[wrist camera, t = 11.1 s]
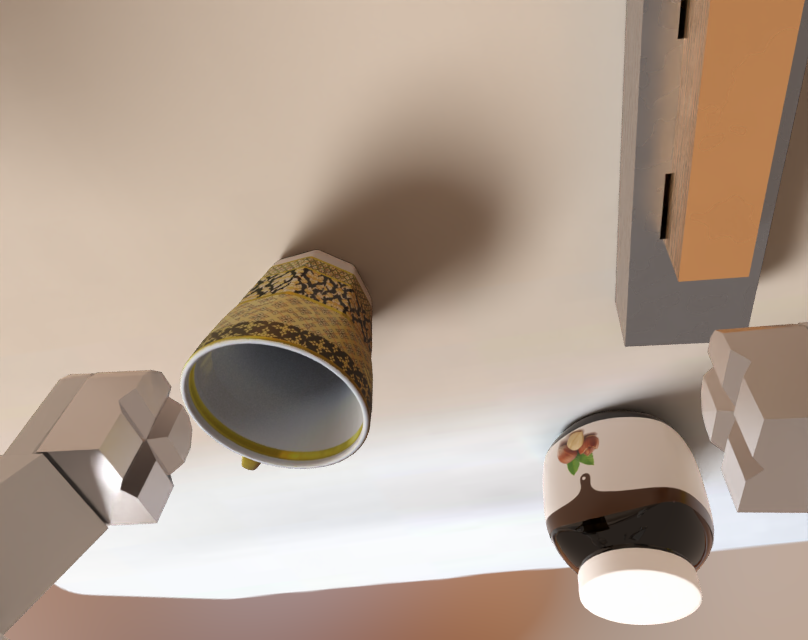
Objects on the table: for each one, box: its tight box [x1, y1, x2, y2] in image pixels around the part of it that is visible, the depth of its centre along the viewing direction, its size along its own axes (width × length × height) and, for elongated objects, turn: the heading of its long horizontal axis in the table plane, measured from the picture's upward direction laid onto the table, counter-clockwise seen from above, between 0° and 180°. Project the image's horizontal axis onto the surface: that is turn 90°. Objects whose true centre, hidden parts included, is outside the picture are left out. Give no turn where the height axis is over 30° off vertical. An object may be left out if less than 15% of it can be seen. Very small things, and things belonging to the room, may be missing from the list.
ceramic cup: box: [180, 250, 373, 470], centre depth 36 cm, size 13×10×10 cm
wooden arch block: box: [663, 0, 805, 282], centre depth 25 cm, size 13×3×7 cm, turn 11°
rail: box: [615, 0, 808, 347], centre depth 26 cm, size 26×6×4 cm, turn 11°
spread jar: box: [543, 410, 714, 625], centre depth 41 cm, size 12×11×12 cm
